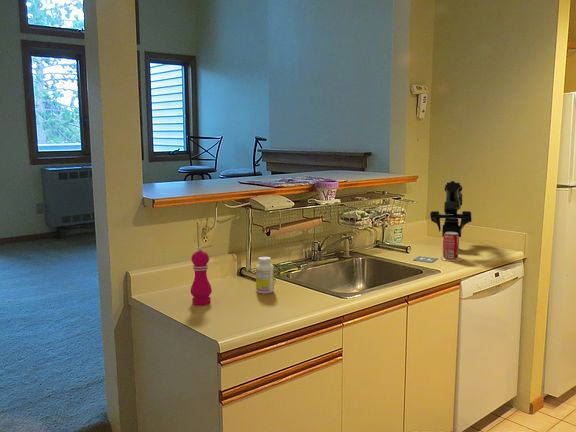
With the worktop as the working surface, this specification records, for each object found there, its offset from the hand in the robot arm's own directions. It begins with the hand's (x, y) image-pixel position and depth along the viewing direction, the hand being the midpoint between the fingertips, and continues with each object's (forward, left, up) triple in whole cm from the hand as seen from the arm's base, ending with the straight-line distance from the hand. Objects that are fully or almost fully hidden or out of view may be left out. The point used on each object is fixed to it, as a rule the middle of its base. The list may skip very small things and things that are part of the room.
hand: (449, 231), depth 258 cm
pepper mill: (+117, -52, -12) cm, 128 cm away
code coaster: (+13, -7, -12) cm, 19 cm away
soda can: (+5, +2, -12) cm, 13 cm away
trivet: (+6, +3, -12) cm, 13 cm away
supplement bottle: (+93, -41, -12) cm, 103 cm away
